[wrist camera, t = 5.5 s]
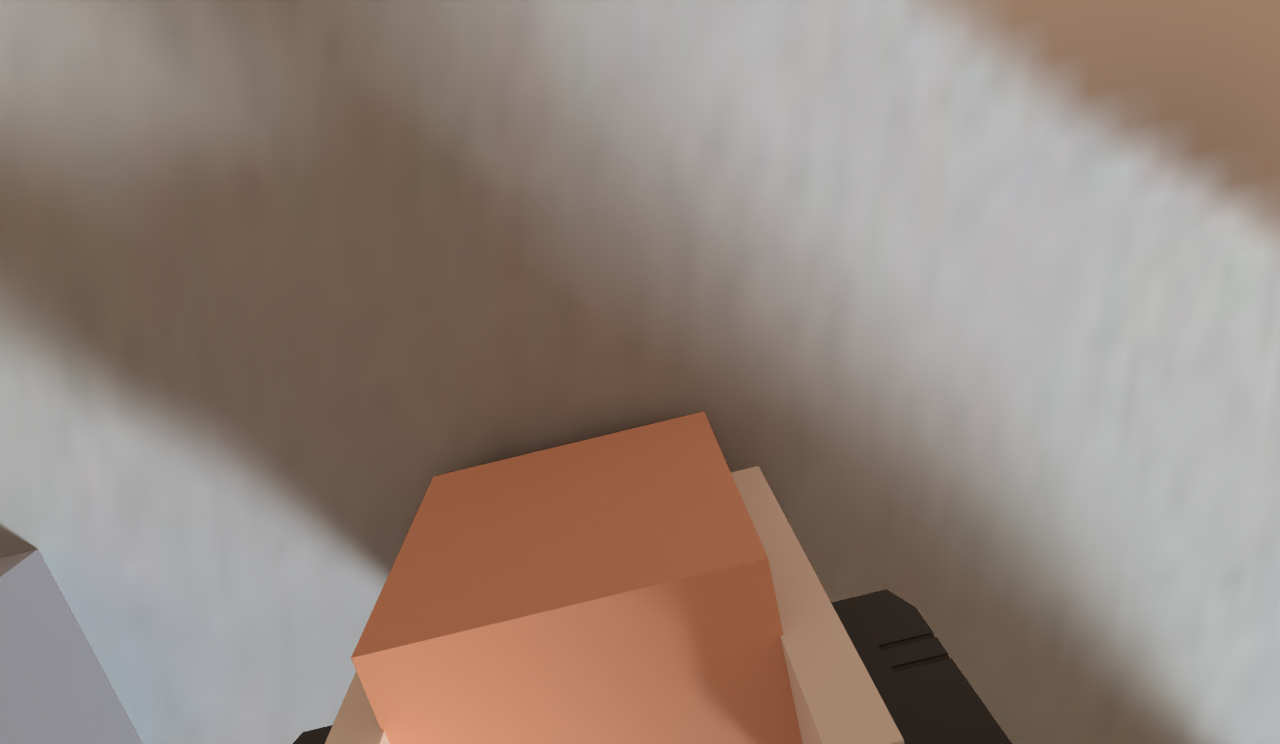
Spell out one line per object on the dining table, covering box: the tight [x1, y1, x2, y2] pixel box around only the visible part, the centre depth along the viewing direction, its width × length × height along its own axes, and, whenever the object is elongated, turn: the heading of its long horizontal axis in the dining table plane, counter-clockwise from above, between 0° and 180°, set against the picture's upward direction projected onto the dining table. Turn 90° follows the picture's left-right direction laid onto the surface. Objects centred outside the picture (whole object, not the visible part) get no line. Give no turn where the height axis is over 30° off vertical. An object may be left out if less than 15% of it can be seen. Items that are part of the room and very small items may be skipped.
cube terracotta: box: [351, 411, 803, 744], centre depth 12 cm, size 5×5×5 cm
